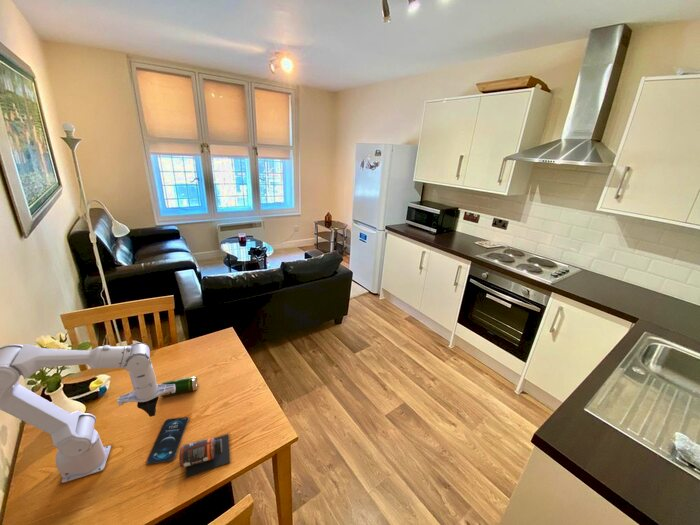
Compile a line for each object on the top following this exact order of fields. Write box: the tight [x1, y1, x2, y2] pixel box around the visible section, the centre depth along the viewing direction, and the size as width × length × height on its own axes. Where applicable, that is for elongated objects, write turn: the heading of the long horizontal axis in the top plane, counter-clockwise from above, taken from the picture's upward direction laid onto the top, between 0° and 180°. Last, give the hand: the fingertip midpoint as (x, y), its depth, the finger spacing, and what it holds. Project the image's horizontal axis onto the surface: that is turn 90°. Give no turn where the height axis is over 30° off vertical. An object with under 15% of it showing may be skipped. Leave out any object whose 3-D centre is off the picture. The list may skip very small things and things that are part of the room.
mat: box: [185, 434, 231, 479], centre depth 90 cm, size 12×10×1 cm
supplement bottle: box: [178, 437, 222, 469], centre depth 88 cm, size 6×6×11 cm
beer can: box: [159, 376, 198, 398], centre depth 111 cm, size 5×5×12 cm
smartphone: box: [146, 416, 189, 464], centre depth 94 cm, size 8×1×15 cm
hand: (153, 413), depth 91 cm, fingers closed
